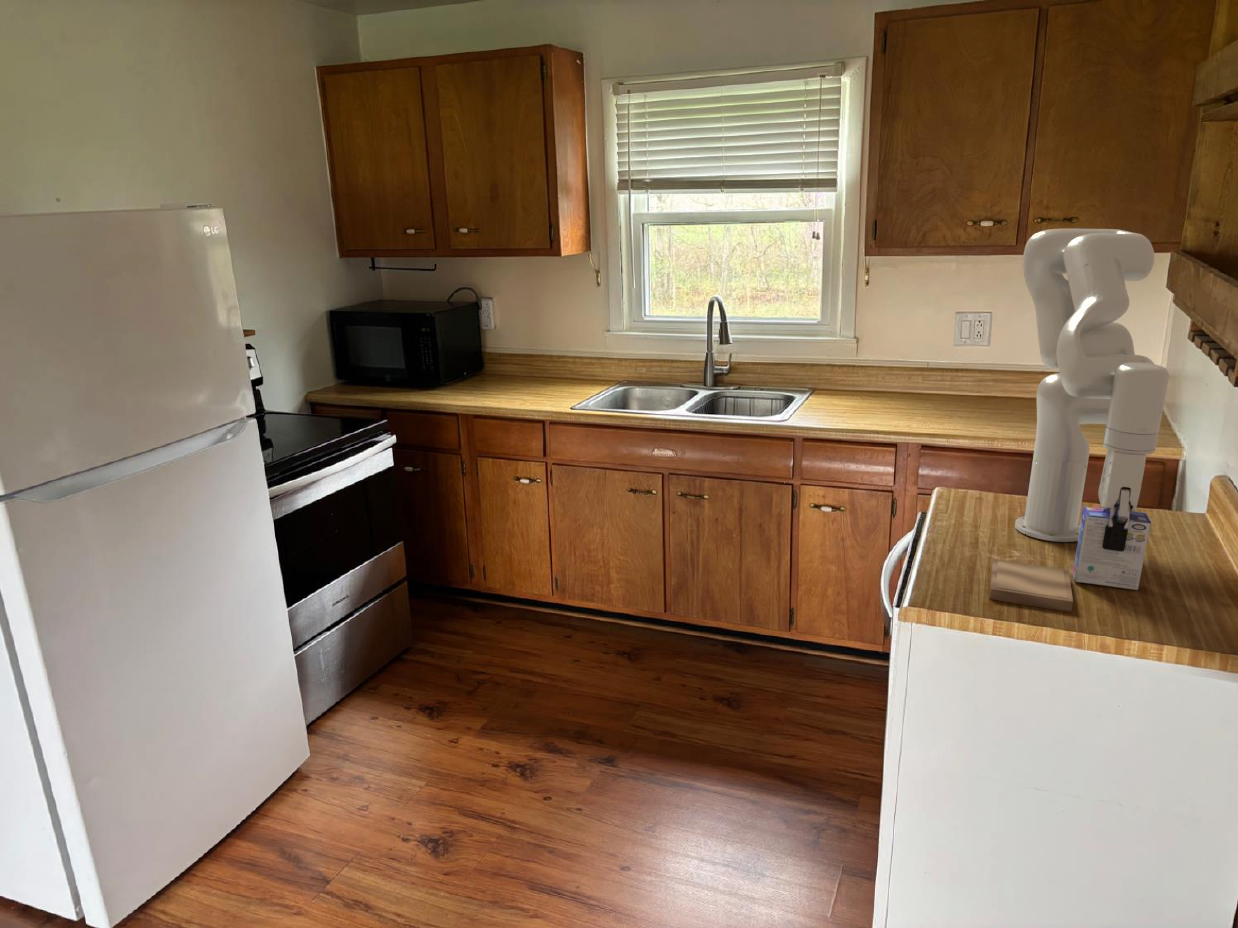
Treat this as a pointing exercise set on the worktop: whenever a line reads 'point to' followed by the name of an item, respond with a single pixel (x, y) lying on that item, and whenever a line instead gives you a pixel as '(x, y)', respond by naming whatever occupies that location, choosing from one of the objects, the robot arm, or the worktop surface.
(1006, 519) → the worktop surface
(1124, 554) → the ink cartridge box
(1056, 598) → the board
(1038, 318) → the robot arm
